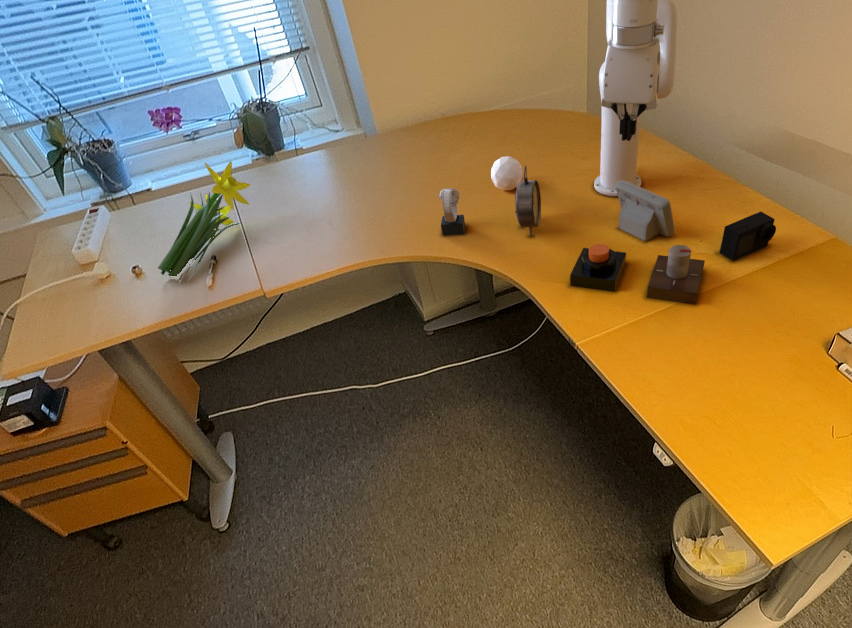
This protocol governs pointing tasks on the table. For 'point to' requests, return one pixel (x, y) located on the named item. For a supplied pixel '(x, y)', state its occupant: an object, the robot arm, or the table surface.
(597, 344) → the table surface
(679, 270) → the dial
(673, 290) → the dial panel
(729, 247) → the digital camera
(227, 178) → the daffodil flowers
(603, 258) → the button
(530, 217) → the alarm clock
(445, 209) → the watch
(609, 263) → the button box
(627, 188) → the digital clock
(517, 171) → the white faceted rounded piece
